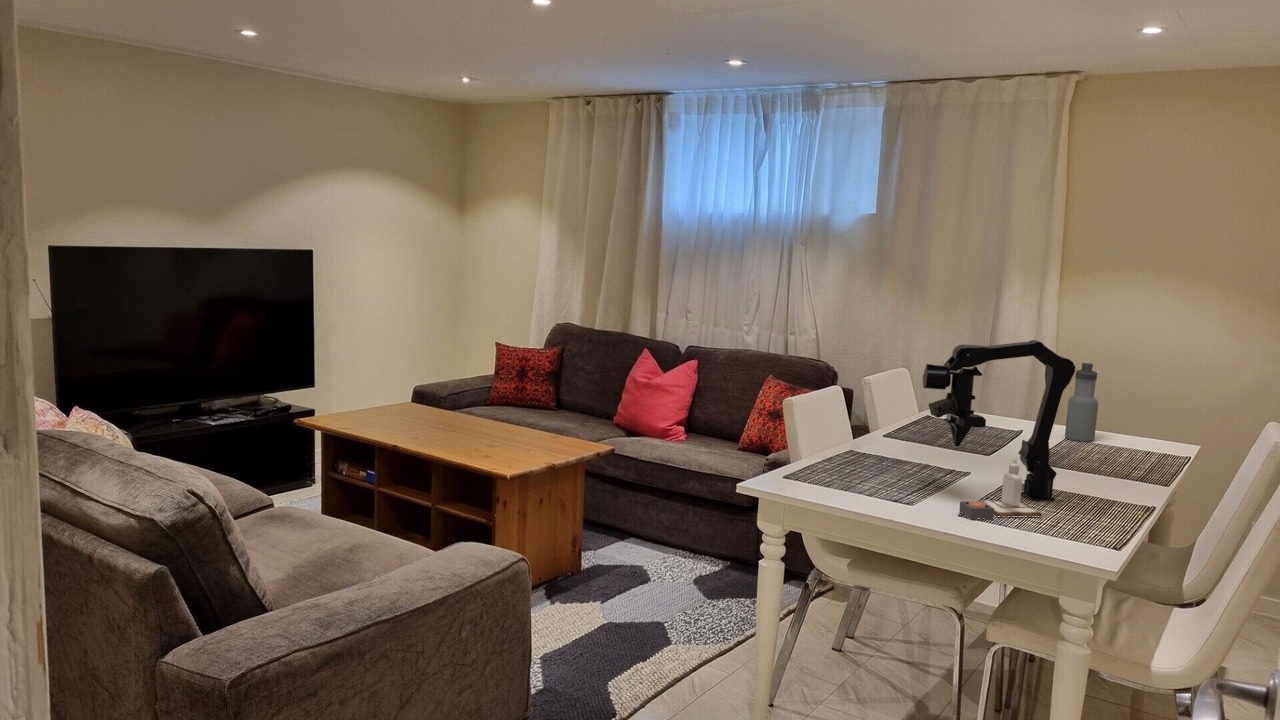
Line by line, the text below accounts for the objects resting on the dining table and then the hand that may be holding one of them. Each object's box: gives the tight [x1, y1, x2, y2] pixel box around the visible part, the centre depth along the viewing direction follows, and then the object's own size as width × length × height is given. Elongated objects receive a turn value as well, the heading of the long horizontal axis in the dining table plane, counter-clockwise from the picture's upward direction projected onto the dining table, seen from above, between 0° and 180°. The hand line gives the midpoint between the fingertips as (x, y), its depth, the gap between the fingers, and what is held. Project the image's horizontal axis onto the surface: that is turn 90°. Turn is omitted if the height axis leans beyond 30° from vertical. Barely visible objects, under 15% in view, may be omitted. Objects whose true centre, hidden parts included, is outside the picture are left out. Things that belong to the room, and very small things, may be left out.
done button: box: [969, 500, 985, 508], centre depth 233 cm, size 4×4×2 cm
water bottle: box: [1064, 362, 1099, 443], centre depth 333 cm, size 10×10×28 cm
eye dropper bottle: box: [1000, 458, 1023, 507], centre depth 240 cm, size 4×6×12 cm
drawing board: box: [981, 500, 1042, 517], centre depth 239 cm, size 12×11×2 cm
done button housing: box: [958, 500, 994, 520], centre depth 233 cm, size 6×6×3 cm
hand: (956, 445), depth 255 cm, fingers closed
